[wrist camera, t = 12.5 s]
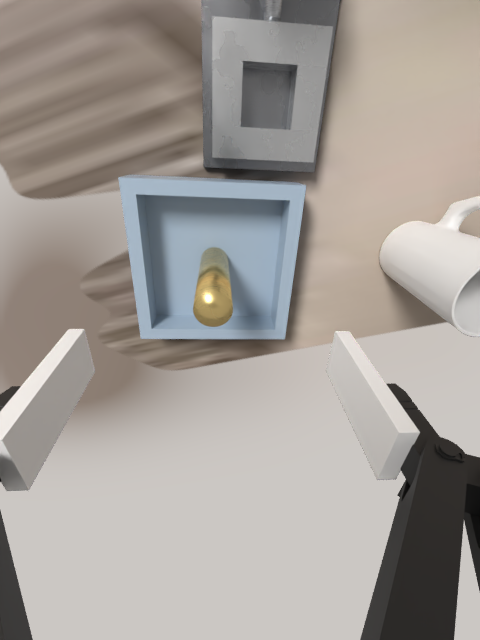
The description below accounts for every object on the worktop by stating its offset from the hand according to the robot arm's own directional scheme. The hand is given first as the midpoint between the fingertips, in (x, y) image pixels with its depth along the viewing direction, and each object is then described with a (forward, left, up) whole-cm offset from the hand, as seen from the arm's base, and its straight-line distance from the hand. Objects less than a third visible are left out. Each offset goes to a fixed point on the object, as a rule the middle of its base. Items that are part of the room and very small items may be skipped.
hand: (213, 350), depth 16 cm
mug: (-3, +21, -17) cm, 27 cm away
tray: (0, 0, -17) cm, 17 cm away
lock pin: (0, 0, -16) cm, 16 cm away
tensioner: (-17, +4, -17) cm, 24 cm away
